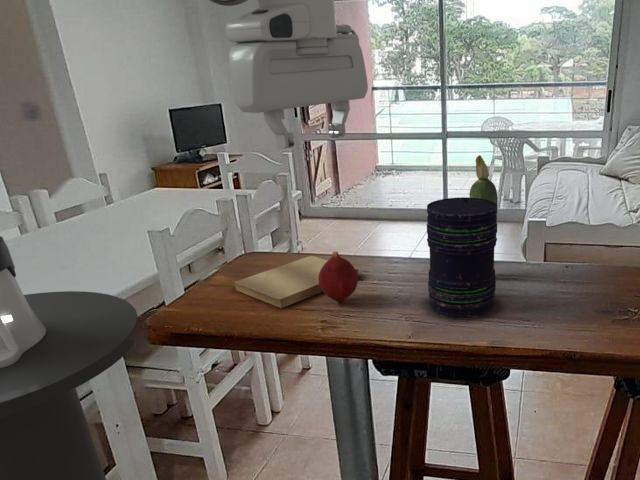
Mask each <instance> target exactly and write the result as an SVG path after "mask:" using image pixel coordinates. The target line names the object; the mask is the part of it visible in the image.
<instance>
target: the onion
mask: <svg viewBox="0 0 640 480" xmlns="http://www.w3.org/2000/svg"><path fill="white" fill-rule="evenodd" d="M327 260H328V261H327V262H326V263H325V264H324V265H323V267H322V268H321V270H320V273H319V277H318V281H319V285H320V288H321V289H322V291H323V292H322V293H324V295H326V297H328V298H330V299H331V300H333V301H335V302H337V303H342V302H344V301H345V300H346V299H348V298H349V297H351V296H352V295H353V293H354V292H355V291H356V289H357V287H358V281H359V280H358V279H359V276H358V277H357V272H356V270H355V268H356V267H354V265H353V264H352V263H351V262H350V261H349V260H348V259H346V258H345V257H341V255H340V254H339V252H338V251H336V250H333V251H332V253H331V258H330V259H327Z"/></svg>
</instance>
